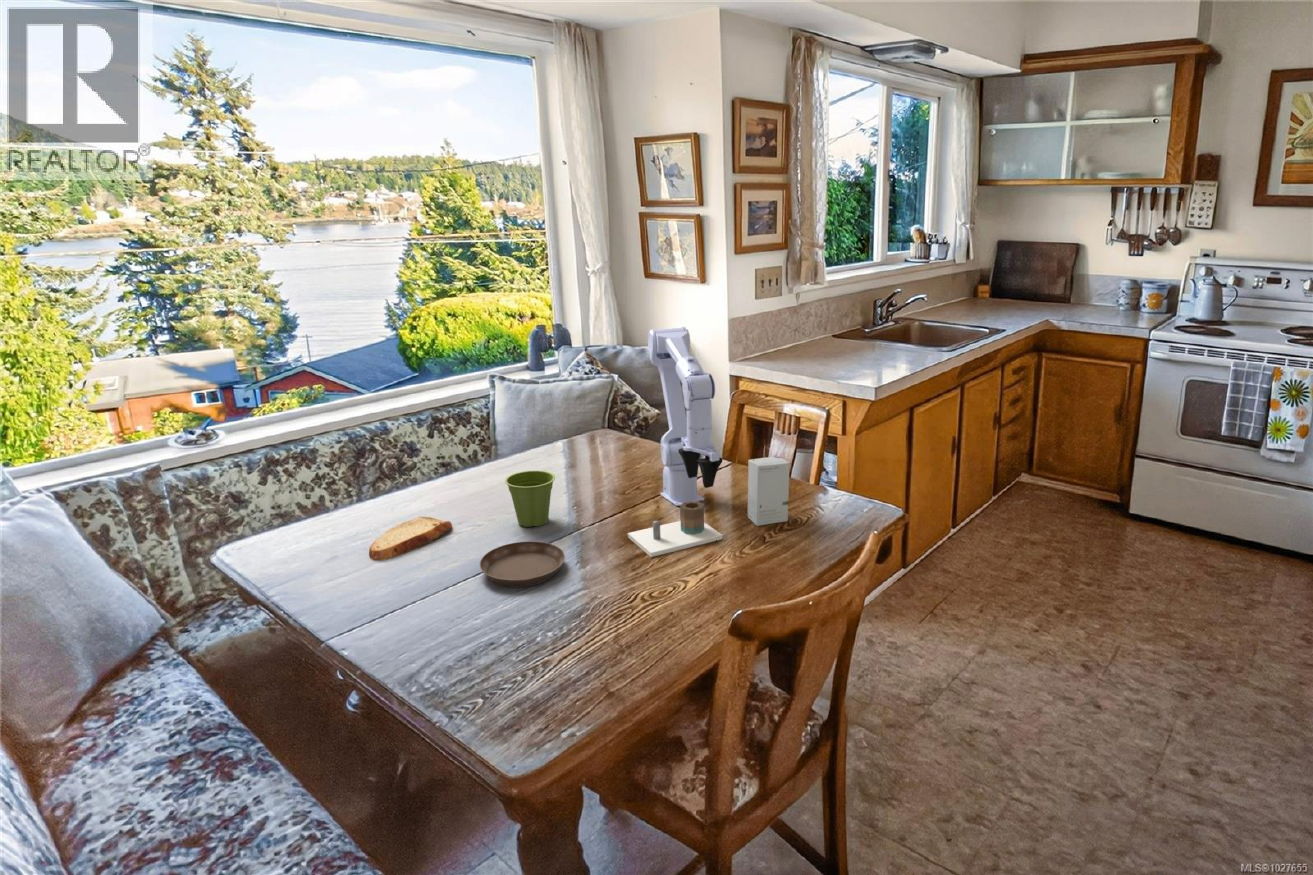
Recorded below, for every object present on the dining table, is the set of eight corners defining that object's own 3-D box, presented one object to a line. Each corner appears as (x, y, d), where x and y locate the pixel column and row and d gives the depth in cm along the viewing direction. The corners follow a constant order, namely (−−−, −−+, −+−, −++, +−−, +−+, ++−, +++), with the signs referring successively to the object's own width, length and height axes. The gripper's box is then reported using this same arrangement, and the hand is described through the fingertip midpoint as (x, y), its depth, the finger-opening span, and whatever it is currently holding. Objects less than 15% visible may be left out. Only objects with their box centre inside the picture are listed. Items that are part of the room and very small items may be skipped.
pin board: (627, 537, 178) (626, 516, 177) (696, 520, 186) (696, 501, 184) (650, 557, 168) (650, 535, 167) (722, 539, 176) (722, 518, 174)
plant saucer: (583, 568, 165) (582, 555, 164) (517, 601, 152) (515, 587, 151) (529, 546, 176) (528, 534, 175) (463, 575, 164) (462, 562, 163)
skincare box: (757, 526, 181) (757, 466, 177) (746, 517, 187) (746, 458, 182) (789, 521, 184) (790, 461, 179) (778, 512, 189) (779, 454, 185)
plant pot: (549, 533, 182) (545, 488, 179) (501, 530, 185) (497, 486, 181) (564, 513, 193) (561, 470, 190) (519, 511, 196) (515, 469, 192)
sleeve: (677, 528, 180) (677, 504, 178) (696, 523, 182) (696, 499, 180) (688, 536, 175) (687, 511, 174) (707, 531, 177) (706, 506, 176)
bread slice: (366, 564, 171) (364, 548, 170) (376, 531, 188) (374, 517, 187) (450, 553, 174) (448, 538, 173) (453, 522, 191) (451, 508, 190)
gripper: (669, 421, 183) (671, 475, 187) (699, 437, 171) (700, 494, 175) (695, 417, 186) (696, 470, 190) (727, 432, 174) (727, 488, 178)
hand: (700, 481), depth 183 cm, fingers open, 7 cm apart
